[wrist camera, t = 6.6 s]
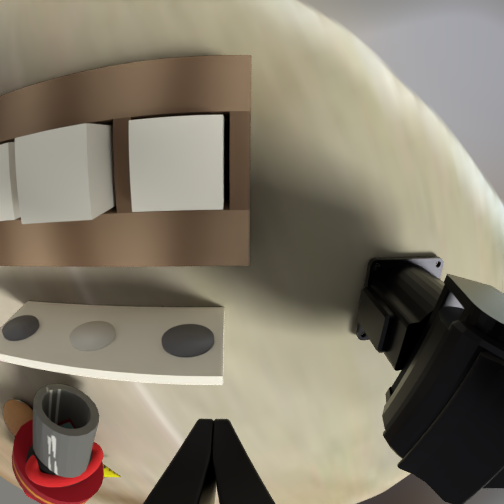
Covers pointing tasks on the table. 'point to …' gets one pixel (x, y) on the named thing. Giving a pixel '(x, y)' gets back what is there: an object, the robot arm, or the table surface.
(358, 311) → the robot arm
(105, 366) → the card
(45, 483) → the toy
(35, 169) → the button mid
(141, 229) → the board
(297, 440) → the table surface
